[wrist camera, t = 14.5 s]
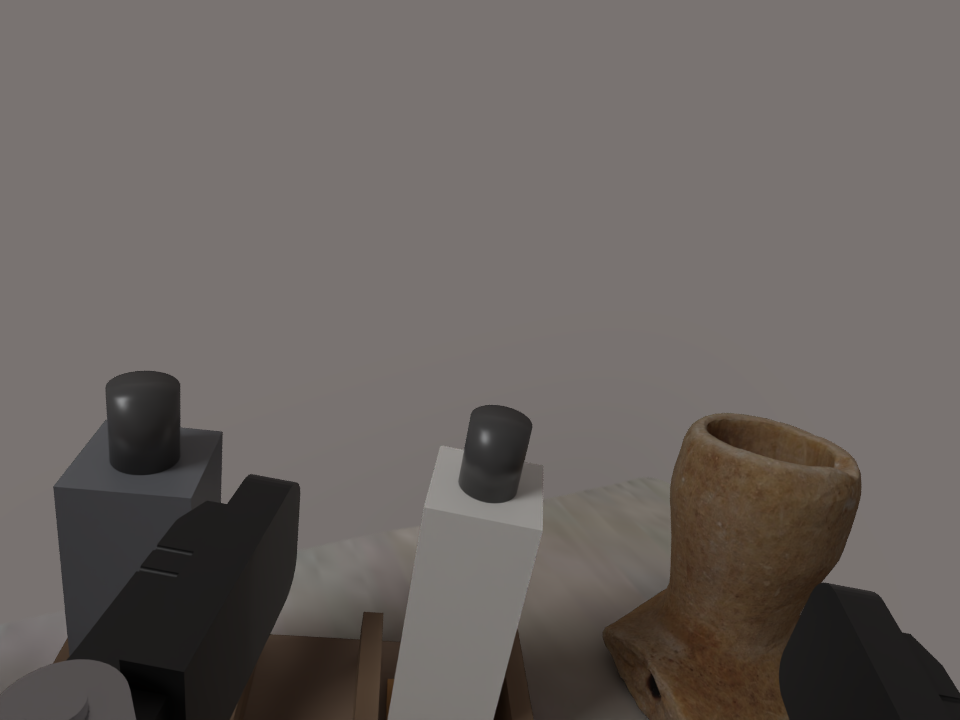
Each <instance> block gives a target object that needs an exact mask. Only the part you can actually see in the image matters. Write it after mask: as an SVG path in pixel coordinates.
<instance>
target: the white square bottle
mask: <svg viewBox="0 0 960 720" xmlns="http://www.w3.org/2000/svg"><path fill="white" fill-rule="evenodd" d="M531 430H532V423H531V421H530V419H529V418H528V417H527V416H525V415H524V414H522V413H521V412H519V411H517V410H514V409H512V408H508V407H505V406H499V405H485V406H481V407H478V408H476V409H474V410H473V411H472V413H471V417H470V422H469V428H468V433H467V438H466V443H465V448H464V450H460V449H456V448H451V447H446V446H440V450H439V454H438V457H437V461H436V464H435V468H434V472H433V475H432V479H431V483H430V487H429V491H428V494H427V498H426V501H425V505H424V510H423V515H422V521H421V527H420V533H419V539H418V545H417V550H416V556H415V562H414V568H413V574H412V580H411V585H410V591H409V597H408V603H407V609H406V615H405V621H404V626H403V632H402V638H401V644H400V650H399V656H398V661H397V667H396V673H395V679H394V685H393V691H392V696H391V702H390V708H389V714H388V720H493V719H494V715H495V711H496V707H497V704H498V700H499V696H500V692H501V688H502V684H503V681H504V677H505V673H506V669H507V665H508V661H509V658H510V654H511V650H512V646H513V642H514V638H515V635H516V631H517V627H518V623H519V619H520V616H521V612H522V608H523V604H524V600H525V596H526V593H527V589H528V585H529V581H530V577H531V573H532V570H533V566H534V562H535V558H536V554H537V550H538V547H539V543H540V539H541V535H542V531H543V466H542V465H537V464H532V463H527V462H524V460H525V456H526V452H527V448H528V444H529V439H530V435H531Z"/></svg>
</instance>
